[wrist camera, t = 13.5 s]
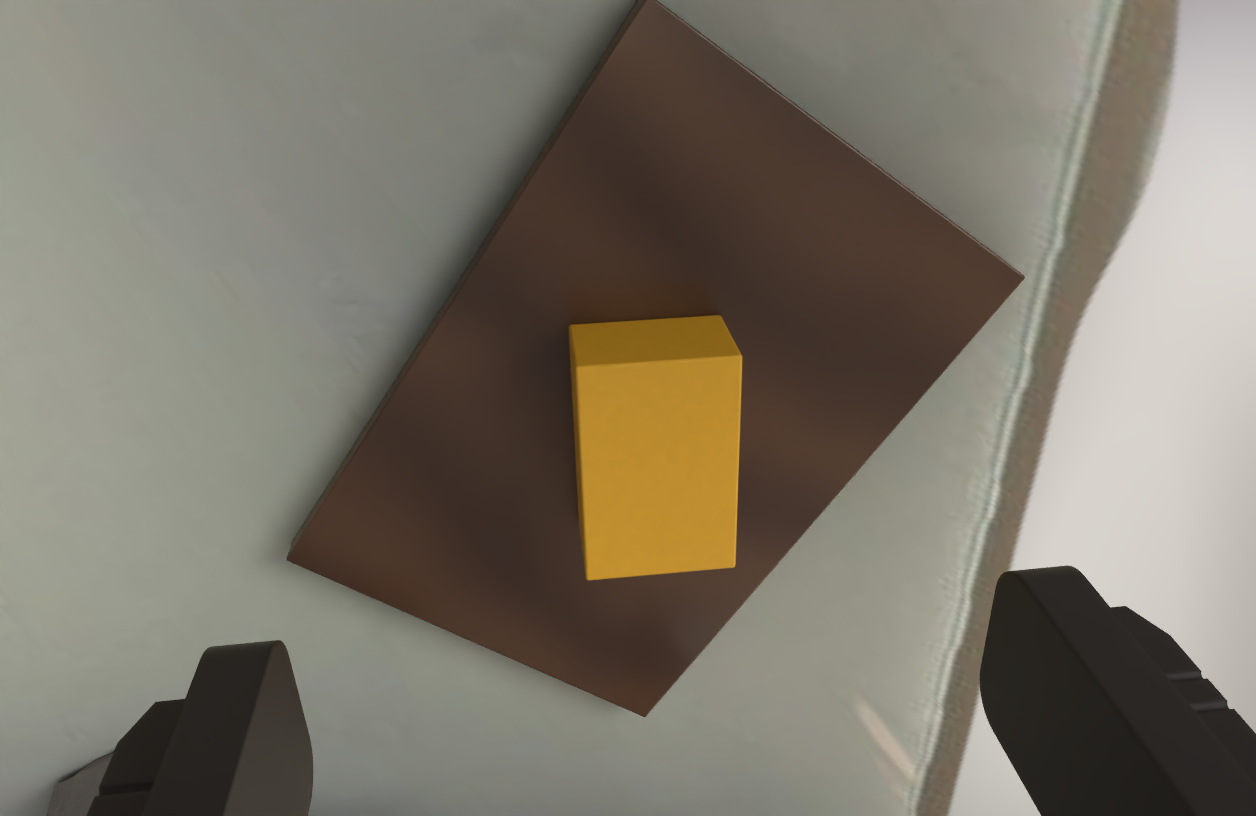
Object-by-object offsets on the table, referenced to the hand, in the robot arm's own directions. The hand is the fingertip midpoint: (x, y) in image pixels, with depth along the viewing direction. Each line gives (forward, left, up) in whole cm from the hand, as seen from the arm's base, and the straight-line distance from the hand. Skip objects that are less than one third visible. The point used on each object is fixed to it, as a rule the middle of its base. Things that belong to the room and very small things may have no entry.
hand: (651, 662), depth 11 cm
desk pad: (+4, +6, -19) cm, 20 cm away
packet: (+4, +6, -18) cm, 20 cm away
